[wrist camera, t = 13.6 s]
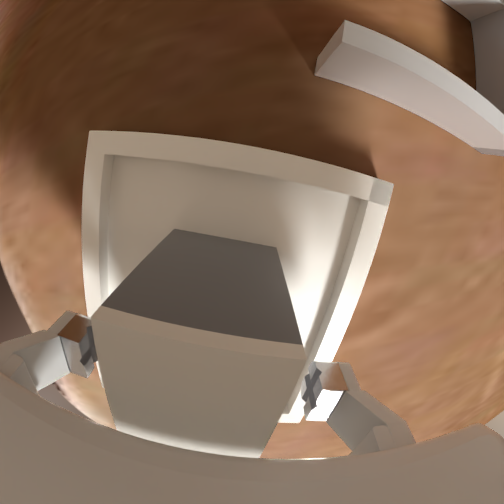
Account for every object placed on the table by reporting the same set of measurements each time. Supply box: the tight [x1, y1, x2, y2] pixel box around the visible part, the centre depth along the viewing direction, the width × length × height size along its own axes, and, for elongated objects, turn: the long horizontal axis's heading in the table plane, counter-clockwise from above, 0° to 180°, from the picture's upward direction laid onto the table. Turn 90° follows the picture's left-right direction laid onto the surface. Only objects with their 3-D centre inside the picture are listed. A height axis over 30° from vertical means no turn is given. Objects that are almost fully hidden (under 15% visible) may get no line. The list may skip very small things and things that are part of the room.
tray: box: [82, 131, 394, 423], centre depth 13 cm, size 13×15×2 cm
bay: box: [314, 0, 504, 156], centre depth 6 cm, size 11×11×5 cm
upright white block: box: [91, 229, 307, 458], centre depth 9 cm, size 4×7×7 cm, turn 169°
